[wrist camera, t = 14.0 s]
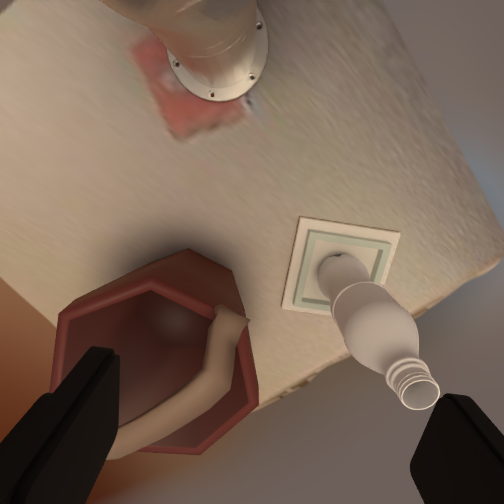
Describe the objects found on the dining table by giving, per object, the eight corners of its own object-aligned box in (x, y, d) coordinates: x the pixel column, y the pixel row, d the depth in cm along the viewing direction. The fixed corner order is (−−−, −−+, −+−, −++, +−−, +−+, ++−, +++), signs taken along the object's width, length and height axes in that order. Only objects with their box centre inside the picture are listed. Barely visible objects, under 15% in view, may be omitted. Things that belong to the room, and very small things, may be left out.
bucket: (234, 211, 46) (214, 279, 22) (285, 331, 53) (311, 484, 29) (90, 268, 49) (-62, 381, 25) (155, 375, 56) (82, 546, 32)
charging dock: (299, 216, 46) (302, 220, 44) (397, 231, 47) (405, 236, 44) (281, 305, 51) (282, 313, 49) (370, 318, 52) (376, 326, 49)
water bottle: (337, 301, 49) (413, 444, 26) (304, 273, 48) (354, 398, 24) (371, 269, 48) (487, 392, 24) (338, 239, 46) (428, 338, 22)
